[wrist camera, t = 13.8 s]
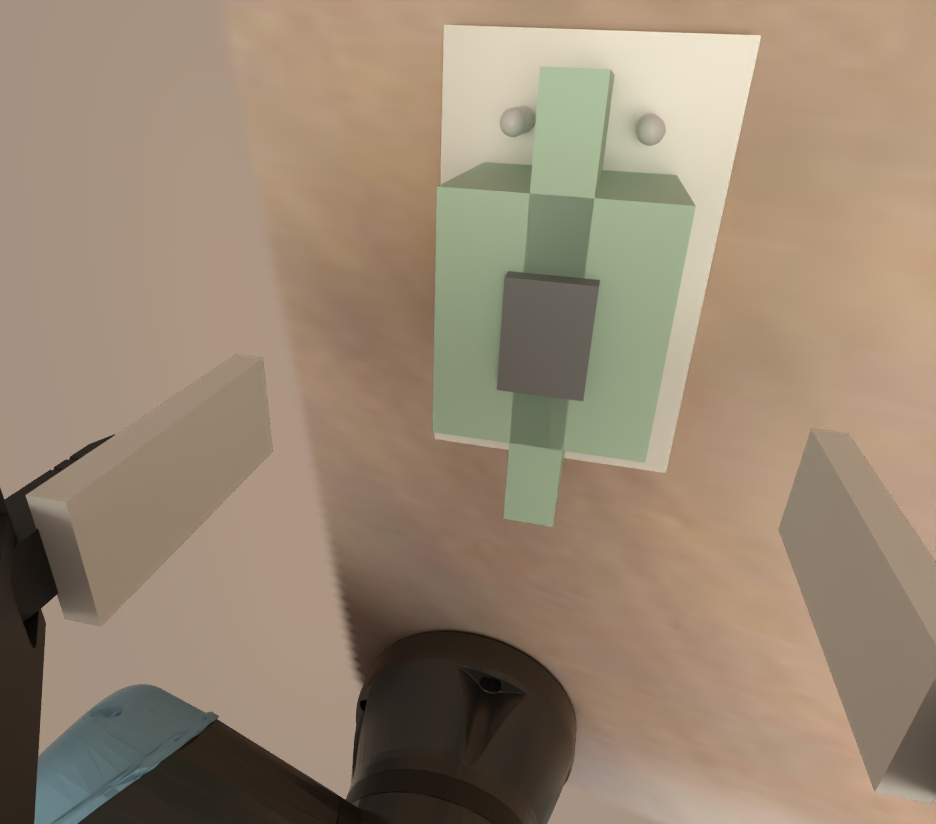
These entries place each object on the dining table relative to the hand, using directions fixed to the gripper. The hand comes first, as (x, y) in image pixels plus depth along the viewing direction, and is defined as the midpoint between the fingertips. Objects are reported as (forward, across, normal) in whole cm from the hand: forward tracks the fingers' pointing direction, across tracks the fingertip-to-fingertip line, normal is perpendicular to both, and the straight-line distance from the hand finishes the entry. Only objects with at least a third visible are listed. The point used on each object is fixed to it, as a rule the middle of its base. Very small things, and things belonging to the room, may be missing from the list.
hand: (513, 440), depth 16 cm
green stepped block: (+15, 0, 0) cm, 15 cm away
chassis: (+17, 0, 0) cm, 17 cm away
